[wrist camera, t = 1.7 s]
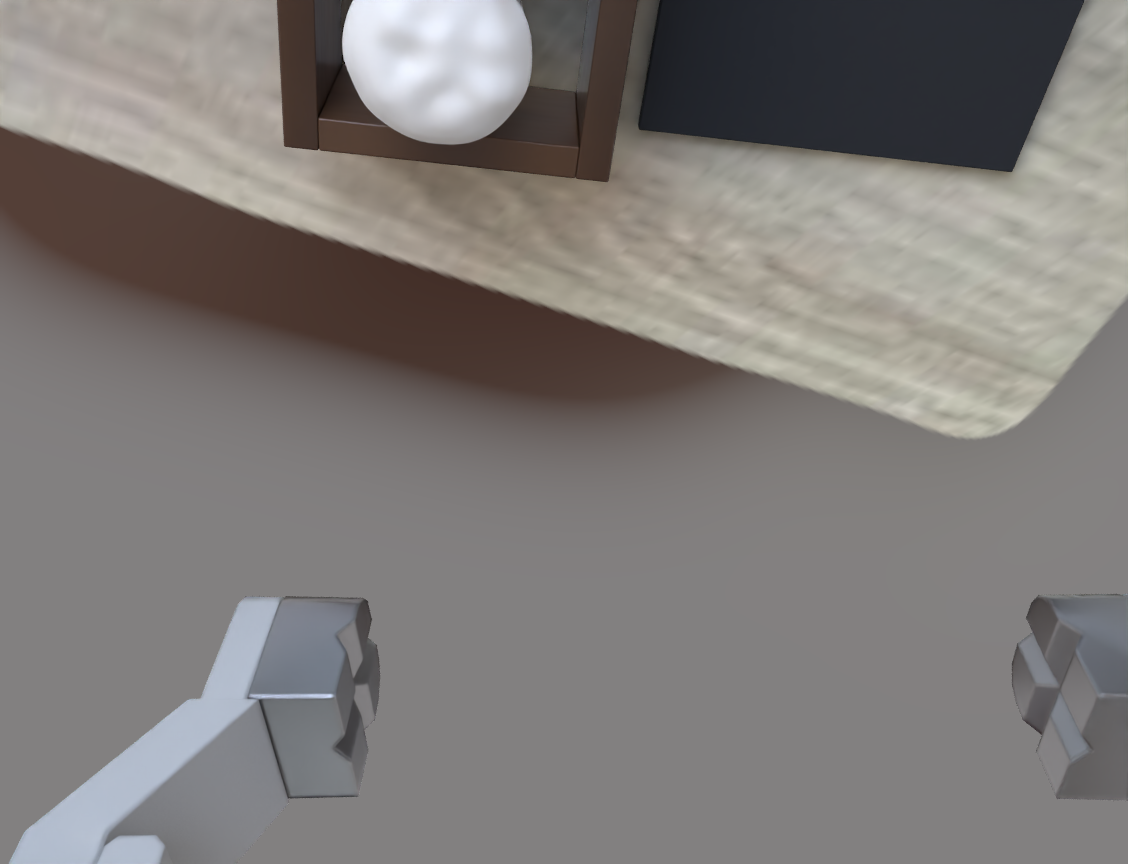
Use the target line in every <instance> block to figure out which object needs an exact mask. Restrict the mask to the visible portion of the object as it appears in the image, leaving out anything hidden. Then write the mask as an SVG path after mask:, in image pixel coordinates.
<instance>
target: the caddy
mask: <svg viewBox="0 0 1128 864" xmlns="http://www.w3.org/2000/svg"><path fill="white" fill-rule="evenodd" d="M637 2H638V0H588V8H587V15H586V23H585V31H584V38H583V46H582V53H581V61H580V68H579V76H578V83H577V91H576V92H571V91H563V90H554V89H546V88H537V87H529V86H528V88H527V91H526V93H525V95H524V97H523V99H522V100H521V102H520V103H519V105H518V106H517V108H516V109H515V110H514V111H513V113H512V114H511V115H510V116H509V117H508V118H507V120H506V121H505V122H504V123H503V124H502V125H501V126H500V127H498V128H497V129H496V130H495V131H493V132H492V133H491V134H489V135H487V136H485V137H483V138H481V139H479V140H476V141H473V142H470V143H465V144H434V143H427V142H422V141H418V140H415V139H412V138H410V137H407V136H405V135H403V134H401V133H399V132H397V131H396V130H394V129H392V128H391V127H389V126H388V125H386V124H385V123H384V122H382V121H381V120H380V119H379V118H377V117H376V116H375V115H374V114H373V113H372V112H371V111H370V110H369V109H368V108H367V107H366V106H365V104H364V103H363V101H362V100H361V98H360V96H359V94H358V92H357V90H356V88H355V86H354V84H353V82H352V80H351V77H350V75H349V72H348V70H347V67H346V65H342V58H341V0H277V12H278V32H279V53H280V73H281V93H282V113H283V134H284V146H285V147H292V148H302V149H311V150H318V149H319V150H321V151H331V152H340V153H349V154H358V155H367V156H376V157H385V158H395V159H404V160H413V161H422V162H431V163H440V164H449V165H458V166H468V167H477V168H486V169H495V170H504V171H513V172H522V173H531V174H541V175H550V176H559V177H568V178H575V177H576V178H577V179H584V180H593V181H602V182H608V181H609V175H610V169H611V163H612V157H613V150H614V144H615V138H616V132H617V126H618V119H619V113H620V107H621V101H622V95H623V88H624V82H625V76H626V70H627V64H628V57H629V51H630V45H631V39H632V33H633V26H634V20H635V14H636V8H637Z"/></svg>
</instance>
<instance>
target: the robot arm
mask: <svg viewBox="0 0 1128 864" xmlns="http://www.w3.org/2000/svg"><path fill="white" fill-rule="evenodd" d="M1026 619H1027V621H1028V623H1029V625H1030V627H1031V630H1032V633H1031V634H1030V635H1028V636H1027V637H1026V638H1024V639H1023V640H1022V641H1020V642H1019V643H1018V644H1017V647H1016V650H1015V654H1014V658H1013V661H1012V687H1013V692H1014V696H1015V700H1016V704H1017V706H1018V709H1019V711H1020V714H1021V716H1022V719H1023V720H1024V721H1025V722H1026V723H1027V724H1029V725H1030V726H1031V727H1033V728H1034V729H1035V730H1036V731H1038V732H1039V733H1040V734H1041V735H1042V736H1041V739H1040V742H1039V745H1038V748H1037V750H1036V752H1037V754H1038V756H1039V759H1040V761H1041V763H1042V766H1043V768H1044V770H1045V772H1046V775H1047V777H1048V780H1049V782H1050V784H1051V787H1052V789H1053V791H1054V793H1055V795H1056V798H1057V799H1060V798H1061V799H1093V800H1094V799H1095V800H1126V801H1128V594H1123V595H1120V594H1086V595H1085V594H1084V595H1083V594H1081V595H1038V596H1037V597H1036V599H1034V601H1033V602H1032V603H1031V605H1030V608H1029V611H1028V614H1027V616H1026ZM371 621H372V618H371V614H370V609H369V605H368V601H367V600H366V599H364V598H338V597H336V598H334V597H287V596H286V597H253V596H246V597H245V598H244V599H243V600H242V601H241V602H240V603H239V604H238V605H237V607H236V609H235V612H234V614H233V617H232V620H231V622H230V625H229V627H228V630H227V632H226V635H225V638H224V640H223V642H222V645H221V648H220V650H219V653H218V655H217V658H216V660H215V663H214V665H213V668H212V670H211V673H210V676H209V678H208V681H207V683H206V686H205V688H204V691H203V693H202V696H201V698H200V699H188V700H187V701H185V702H184V703H183V704H182V705H181V706H179V707H178V708H177V709H176V710H174V711H173V712H172V713H171V714H169V715H168V716H167V717H166V718H164V719H163V720H162V721H161V722H160V723H158V724H157V725H156V726H155V727H153V728H152V729H151V730H150V731H148V732H147V733H146V734H145V735H143V736H142V737H141V738H140V739H138V740H137V741H136V742H135V743H134V744H132V745H131V746H130V747H129V748H127V749H126V750H125V751H124V752H122V753H121V754H120V755H119V756H117V757H116V758H115V759H114V760H112V761H111V762H110V763H109V764H108V765H106V766H105V767H104V768H103V769H101V770H100V771H99V772H98V773H96V774H95V775H94V776H93V777H92V778H90V779H89V780H88V781H86V782H85V783H84V784H83V785H82V786H80V787H79V788H78V789H77V790H75V791H74V792H73V793H72V794H70V795H69V796H68V797H67V798H66V799H64V800H63V801H62V802H61V803H59V804H58V805H57V806H56V807H54V808H53V809H52V810H51V811H49V812H48V813H47V814H46V815H44V816H43V817H42V818H41V819H40V820H38V821H37V822H36V823H35V824H33V825H32V826H31V827H30V828H28V829H27V830H26V831H25V832H24V834H23V836H22V838H21V840H20V842H19V844H18V846H17V848H16V850H15V852H14V854H13V856H12V858H11V860H10V862H9V864H236V863H237V862H238V861H239V860H240V859H241V858H242V856H243V855H244V854H245V853H246V852H247V851H248V849H249V848H250V847H251V846H252V845H253V844H254V842H255V841H256V840H257V839H258V838H259V837H260V836H261V834H262V833H263V832H264V831H265V830H266V829H267V827H268V826H269V825H270V824H271V823H272V822H273V820H274V819H275V818H276V817H277V816H278V815H279V814H280V812H281V811H282V810H283V809H284V808H285V807H286V805H287V804H288V803H289V800H288V798H320V797H321V798H323V797H358V795H359V791H360V786H361V782H362V777H363V773H364V768H365V764H366V759H367V754H368V746H367V741H366V736H365V731H364V730H365V729H366V728H367V727H368V726H369V725H370V724H371V723H372V722H373V721H374V720H375V716H376V711H377V706H378V700H379V688H380V664H379V655H378V649H377V645H376V644H375V643H374V642H372V641H371V640H370V639H369V638H368V635H369V631H370V626H371Z"/></svg>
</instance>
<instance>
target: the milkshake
mask: <svg viewBox="0 0 1128 864" xmlns="http://www.w3.org/2000/svg"><path fill="white" fill-rule="evenodd" d="M342 50H343V57H344V61H345V64H346V67H347V70H348V72H349V75H350V77H351V80H352V82H353V84H354V86H355V88H356V90H357V92H358V94H359V96H360V98H361V100H362V101H363V103H364V104H365V106H366V107H367V108H368V109H369V110H370V111H371V112H372V113H373V114H374V115H375V116H376V117H377V118H379V119H380V120H381V121H382V122H384V123H385V124H386V125H388V126H389V127H391V128H392V129H394V130H396V131H397V132H399V133H401V134H403V135H405V136H407V137H410V138H412V139H415V140H418V141H422V142H427V143H434V144H465V143H470V142H473V141H476V140H479V139H481V138H483V137H485V136H487V135H489V134H491V133H492V132H493V131H495V130H496V129H497V128H498V127H500V126H501V125H502V124H503V123H504V122H505V121H506V120H507V118H508V117H509V116H510V115H511V114H512V113H513V111H514V110H515V109H516V108H517V106H518V105H519V103H520V102H521V100H522V99H523V97H524V95H525V93H526V91H527V88H528V85H529V82H530V77H531V70H532V40H531V34H530V29H529V25H528V22H527V19H526V17H525V13H524V9H523V6H522V2H521V0H353V1H352V3H351V6H350V8H349V10H348V13H347V16H346V20H345V24H344V29H343V38H342Z"/></svg>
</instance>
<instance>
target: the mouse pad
mask: <svg viewBox="0 0 1128 864" xmlns="http://www.w3.org/2000/svg"><path fill="white" fill-rule="evenodd" d="M1083 3H1084V0H660V3H659V8H658V14H657V20H656V26H655V31H654V37H653V43H652V49H651V54H650V60H649V66H648V72H647V77H646V83H645V89H644V95H643V100H642V106H641V112H640V117H639V123H638V126H639V129H640V130H648V131H657V132H666V133H674V134H683V135H692V136H701V137H709V138H718V139H727V140H736V141H744V142H753V143H762V144H771V145H779V146H788V147H797V148H805V149H814V150H823V151H832V152H840V153H849V154H858V155H867V156H875V157H884V158H893V159H902V160H910V161H919V162H928V163H937V164H945V165H954V166H963V167H972V168H980V169H989V170H998V171H1007V172H1012V171H1013V169H1014V166H1015V164H1016V161H1017V159H1018V157H1019V154H1020V152H1021V150H1022V147H1023V145H1024V142H1025V140H1026V138H1027V135H1028V133H1029V131H1030V128H1031V126H1032V123H1033V121H1034V119H1035V116H1036V114H1037V112H1038V109H1039V107H1040V105H1041V102H1042V100H1043V97H1044V95H1045V93H1046V90H1047V88H1048V86H1049V83H1050V81H1051V78H1052V76H1053V74H1054V71H1055V69H1056V67H1057V64H1058V62H1059V60H1060V57H1061V55H1062V52H1063V50H1064V48H1065V45H1066V43H1067V41H1068V38H1069V36H1070V33H1071V31H1072V29H1073V26H1074V24H1075V22H1076V19H1077V17H1078V14H1079V12H1080V10H1081V7H1082V5H1083Z"/></svg>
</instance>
